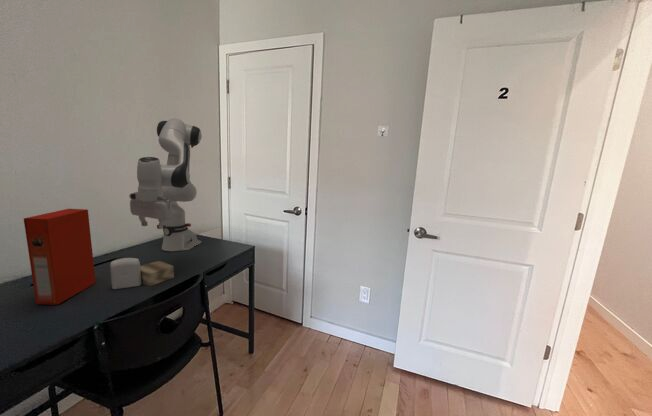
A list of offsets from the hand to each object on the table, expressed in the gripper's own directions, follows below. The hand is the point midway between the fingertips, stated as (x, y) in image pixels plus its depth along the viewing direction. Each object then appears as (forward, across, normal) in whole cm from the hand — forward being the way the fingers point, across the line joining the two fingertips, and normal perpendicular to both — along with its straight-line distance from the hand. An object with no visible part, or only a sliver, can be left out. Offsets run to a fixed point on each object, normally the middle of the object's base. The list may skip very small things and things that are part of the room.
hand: (152, 227), depth 121 cm
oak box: (+24, 0, 0) cm, 24 cm away
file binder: (+24, +18, +23) cm, 38 cm away
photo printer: (+24, +4, +10) cm, 27 cm away
